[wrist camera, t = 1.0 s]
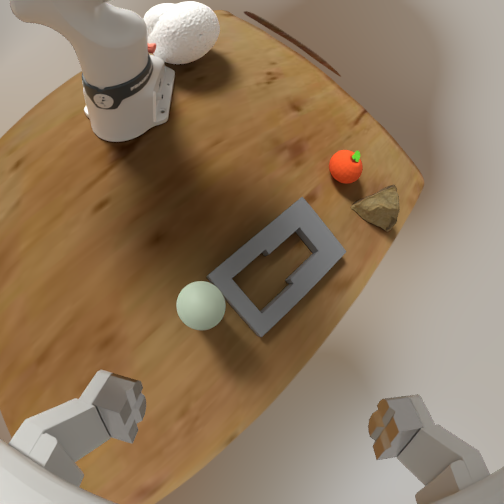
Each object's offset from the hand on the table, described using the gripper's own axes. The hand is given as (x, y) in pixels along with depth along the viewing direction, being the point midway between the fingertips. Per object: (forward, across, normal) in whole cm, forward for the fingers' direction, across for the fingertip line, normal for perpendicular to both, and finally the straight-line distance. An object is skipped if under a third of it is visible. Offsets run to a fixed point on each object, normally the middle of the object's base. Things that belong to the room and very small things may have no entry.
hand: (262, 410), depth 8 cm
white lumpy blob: (+57, +24, -32) cm, 70 cm away
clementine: (+53, -15, -7) cm, 56 cm away
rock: (+51, -23, +2) cm, 56 cm away
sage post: (+32, +10, +16) cm, 37 cm away
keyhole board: (+40, -3, +10) cm, 41 cm away
